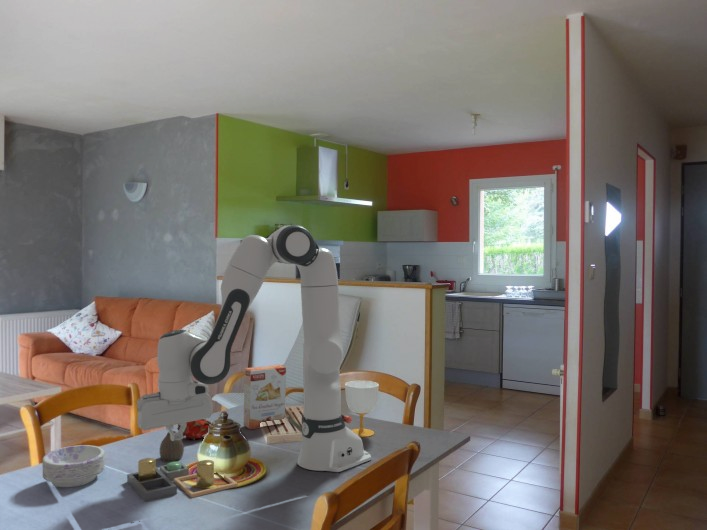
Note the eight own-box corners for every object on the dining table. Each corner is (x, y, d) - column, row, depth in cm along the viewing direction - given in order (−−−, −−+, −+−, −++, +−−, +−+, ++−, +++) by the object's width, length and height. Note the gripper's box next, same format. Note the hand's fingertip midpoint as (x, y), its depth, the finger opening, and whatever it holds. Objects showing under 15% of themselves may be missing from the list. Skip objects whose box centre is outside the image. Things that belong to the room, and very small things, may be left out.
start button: (178, 471, 170) (178, 460, 170) (183, 475, 167) (183, 464, 166) (164, 474, 167) (164, 463, 167) (169, 478, 164) (169, 467, 164)
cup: (357, 426, 217) (357, 378, 217) (384, 432, 210) (385, 383, 210) (337, 434, 208) (338, 384, 207) (365, 440, 201) (366, 389, 200)
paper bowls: (74, 498, 153) (74, 467, 153) (29, 489, 158) (28, 459, 158) (117, 476, 168) (117, 448, 167) (74, 469, 173) (74, 441, 173)
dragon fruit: (173, 445, 199) (209, 445, 205) (180, 435, 193) (217, 436, 199) (173, 420, 204) (208, 421, 210) (180, 410, 198) (216, 411, 204)
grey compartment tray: (157, 478, 166) (157, 468, 166) (176, 497, 154) (176, 486, 154) (127, 485, 161) (127, 474, 161) (145, 505, 149) (145, 493, 149)
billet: (209, 480, 164) (210, 458, 164) (216, 486, 160) (216, 463, 160) (194, 484, 161) (194, 462, 161) (200, 489, 158) (200, 467, 158)
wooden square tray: (217, 475, 170) (217, 468, 170) (237, 489, 159) (237, 483, 159) (173, 485, 162) (173, 478, 162) (191, 501, 152) (191, 494, 152)
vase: (176, 466, 176) (176, 436, 175) (155, 464, 177) (155, 434, 177) (187, 458, 182) (188, 429, 182) (166, 456, 184) (166, 427, 184)
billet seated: (152, 478, 164) (152, 456, 163) (158, 484, 160) (158, 461, 160) (136, 482, 161) (136, 460, 161) (141, 487, 158) (141, 465, 157)
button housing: (180, 472, 171) (180, 461, 171) (188, 479, 166) (188, 468, 166) (159, 477, 168) (159, 466, 168) (167, 484, 163) (167, 473, 163)
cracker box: (250, 430, 211) (250, 370, 210) (243, 426, 216) (243, 367, 215) (286, 424, 219) (286, 366, 218) (278, 420, 224) (278, 363, 223)
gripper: (140, 398, 157) (142, 450, 158) (214, 385, 170) (215, 434, 170) (133, 393, 163) (134, 444, 163) (205, 382, 175) (206, 429, 175)
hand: (176, 439), depth 167 cm, fingers closed
